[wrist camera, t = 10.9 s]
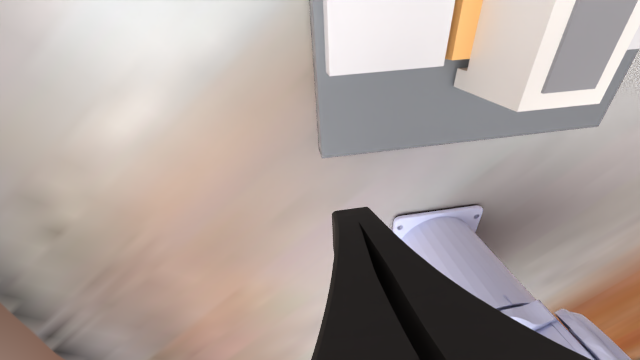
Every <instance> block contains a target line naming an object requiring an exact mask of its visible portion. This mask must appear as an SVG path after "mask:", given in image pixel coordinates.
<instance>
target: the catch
mask: <svg viewBox="0 0 640 360" xmlns="http://www.w3.org/2000/svg"><path fill="white" fill-rule="evenodd" d="M482 3H483V0H455V5H454V10H453V16H452V22H451V27H450V33H449V38H448V44H447V50H446V55H445V59H448V60H461V59H470V56H471V51H472V47H473V42H474V38H475V34H476V29H477V25H478V20H479V16H480V12H481V7H482Z"/></svg>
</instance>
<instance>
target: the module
mask: <svg viewBox="0 0 640 360" xmlns="http://www.w3.org/2000/svg"><path fill="white" fill-rule="evenodd" d="M639 25H640V0H483V3H482V7H481V12H480V16H479V20H478V25H477V29H476V34H475V38H474V42H473V47H472V51H471V56H470V60H469V64H468V67H467V68H457V73H456V77H455V82H454V87H456V88H459V89H461V90H464V91H466V92H469V93H471V94H473V95H476V96H478V97H481V98H483V99H486V100H488V101H491V102H493V103H496V104H498V105H501V106H503V107H506V108H508V109H511V110H513V111H516V112H522V111H532V110H542V109H551V108H561V107H571V106H581V105H590V104H600V102H601V100H602V98H603V96H604V94H605V92H606V90H607V88H608V86H609V84H610V82H611V80H612V78H613V76H614V74H615V72H616V70H617V68H618V66H619V64H620V62H621V60H622V58H623V56H624V54H625V53H626V51H627V49H628V47H629V45H630V43H631V41H632V39H633V37H634V35H635V33H636V31H637V29H638V27H639Z"/></svg>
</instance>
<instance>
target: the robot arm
mask: <svg viewBox="0 0 640 360" xmlns="http://www.w3.org/2000/svg"><path fill="white" fill-rule="evenodd" d="M482 212H483V208H482V207H481V206H479V205H476V206H468V207H461V208H454V209H447V210H440V211H432V212H425V213H418V214H411V215H403V216H398V217H396V218H395V219H394V222H393V230H390V229H389V228H388V227H387V226H386V225H385V224H384V223H383V222H382V221H381V220H380V219H379V218H378V217H377V216H376V215H375V214H374V213H373V212H372V211H371V210H370V209H369V208H368V207H362V208H354V209H347V210H339V211H335V212H334V213H332V226H333V249H334V263H333V270H332V278H331V283H330V289H329V294H328V299H327V304H326V308H325V312H324V316H323V320H322V324H321V328H320V332H319V336H318V339H317V343H316V346H315V349H314V352H313V356H312V359H311V360H632V359H630V358H629V357H628V356H627V355H626V354H625V353H624V352H623V351H622V350H621V349H620V348H619V347H618V346H617V345H616V344H615V343H614V342H613V341H612V340H611V339H610V338H609V337H608V336H606V335H605V334H604V333H603V332H602V331H601V330H600V329H599V328H598V327H597V326H595V325H594V324H593V323H592V322H591V321H590V320H588V319H587V318H586V317H585V316H583V315H581V314H578V313H574V312H569V311H567V310H566V309H560V310H558V311H556V312H554V313H555V314H556V316H557V317H558V318H559V319H560V321H561V322H562V323H563V324H564V325H565V327H566V328H567V329H568V330H569V331H568V330H567V329H566V328H565V327H564V326H563V325H562V324H561V323H560V322H559V321H558V320H557V319H556V318H555V317H554V315H553V314H552V313H551V312H550V311H549V310H548V309H547V308H546V307H545V306H544V305H543V304H542V302H541V301H540V300H536V299H535V298H534V297H533V296H532V295H531V294H530V293H529V292H528V291H527V289H526V288H525V287H524V286H523V285H522V284H521V283H520V282H519V281H518V280H517V279H516V277H515V276H514V275H513V274H512V273H511V272H510V271H509V270H508V269H507V268H506V266H505V265H504V264H503V263H502V262H501V261H500V260H499V259H498V258H497V257H496V255H495V254H494V253H493V252H492V251H491V250H490V249H489V248H488V247H487V246H486V245H485V243H484V242H483V241H482V240H481V239H480V238H479V237H478V236H477V235H476V234H475V233H476V230H477V227H478V224H479V221H480V218H481V215H482ZM400 225H401V226H400ZM398 226H399V227H398ZM571 334H572V335H573V336H572V335H571Z"/></svg>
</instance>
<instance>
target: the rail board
mask: <svg viewBox="0 0 640 360" xmlns="http://www.w3.org/2000/svg"><path fill="white" fill-rule="evenodd" d="M309 5H310V20H311V35H312V51H313V66H314V81H315V97H316V112H317V127H318V143H319V151H320V154H321V157H322V158H330V157H338V156H347V155H355V154H364V153H373V152H381V151H390V150H399V149H407V148H416V147H424V146H433V145H442V144H450V143H459V142H468V141H476V140H485V139H494V138H502V137H511V136H519V135H528V134H537V133H545V132H554V131H563V130H571V129H580V128H588V127H597V126H599V124H600V122H601V121H602V119H603V117H604V115H605V113H606V111H607V109H608V107H609V105H610V103H611V102H612V100H613V98H614V96H615V94H616V92H617V90H618V88H619V86H620V84H621V83H622V81H623V79H624V77H625V75H626V73H627V71H628V69H629V67H630V65H631V64H632V62H633V60H634V58H635V56H636V54H637V52H638V50H639V49H640V25H639V27H638V29H637V31H636V33H635V35H634V37H633V39H632V41H631V43H630V45H629V47H628V49H627V51H626V53H625V54H624V56H623V58H622V60H621V62H620V64H619V66H618V68H617V70H616V72H615V74H614V76H613V78H612V80H611V82H610V84H609V86H608V88H607V90H606V92H605V94H604V96H603V98H602V100H601V102H600V104H590V105H581V106H571V107H561V108H551V109H542V110H532V111H522V112H516V111H513V110H511V109H508V108H506V107H503V106H501V105H498V104H496V103H493V102H491V101H488V100H486V99H483V98H481V97H478V96H476V95H473V94H471V93H469V92H466V91H464V90H461V89H459V88H456V87H454V82H455V77H456V73H457V68H467V67H468V64H469V60H470V59H461V60H448V59H445V55H446V50H447V44H448V38H449V33H450V27H451V22H452V16H453V10H454V5H455V0H309Z"/></svg>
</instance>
